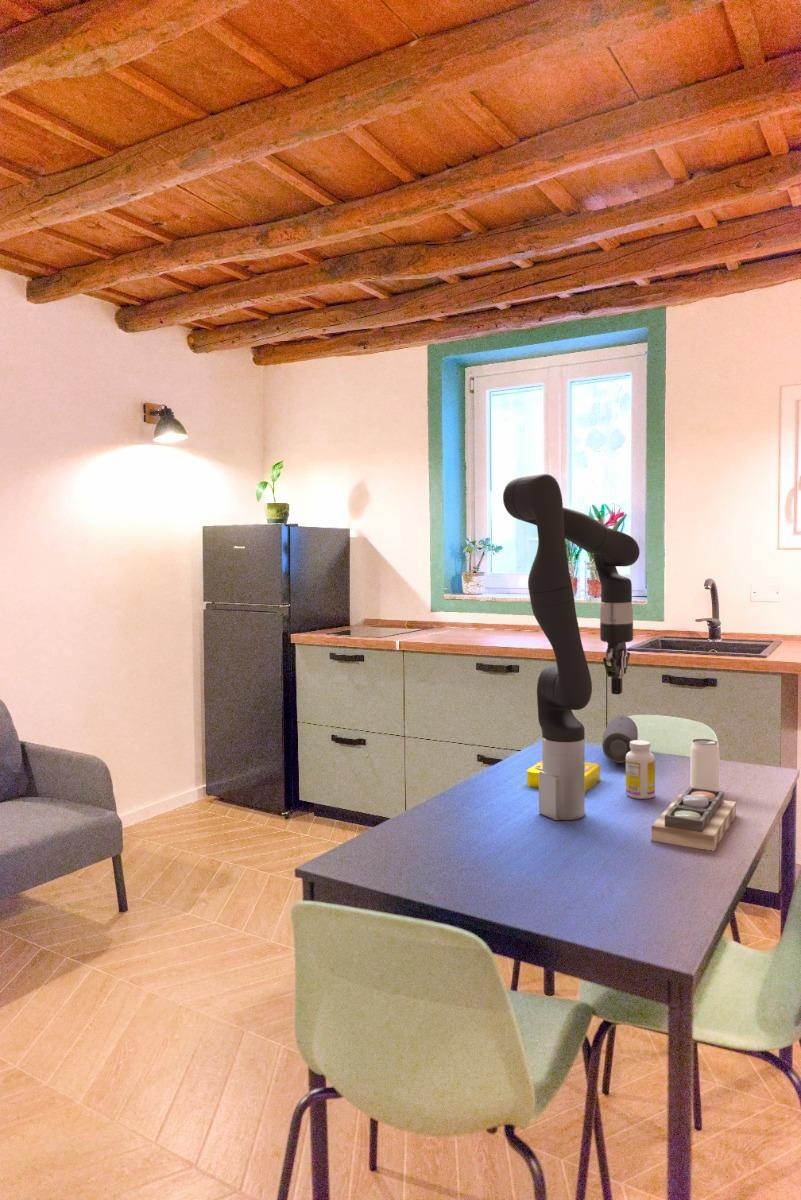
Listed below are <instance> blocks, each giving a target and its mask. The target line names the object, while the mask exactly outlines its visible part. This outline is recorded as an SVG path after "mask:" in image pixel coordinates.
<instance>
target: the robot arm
mask: <svg viewBox="0 0 801 1200" xmlns="http://www.w3.org/2000/svg"><path fill="white" fill-rule="evenodd" d="M562 495H563V494H562V492H561V488H560V484H559V482H558V481H557V479H556V478H555V477H554V476H553V475H552V474H548V473H542V474H535V475H527V476H520V477H517V478H514V479H512V480H510V481H509V482H508V483H507V484H506V486H505V487H504V490H503V495H502V502H503V505H504V508H505V509H506V511H507V513H508V514H509V515H510V516H511V517H512V518H514V519H516V520H520V521H522V522H525V523H527V524H531V525H534V526H536V529H537V530H536V531H537V538H538V539H537V540H538V541H537V542H538V543H537V548H536V549H537V550H536V552H535V553H536V554H535V557H534V560H533V563H532V565H531V568H530V571H529V575H528V580H527V588H528V594H529V595H528V596H529V599H530V600H529V601H530V605H531V610H532V613H533V616H534V619H535V620H536V622H537V624H538V625H539V627H540V629H541V630H542V632H543V633H544V635H545V637H546V638H547V640H548V642H549V643H550V645H551V648H552V650H553V653H554V657H555V662H556V663H553V664H548V665H547V666H545V667H543V669H542V670H541V671H540V673H539V676H538V679H537V684H536V696H537V697H536V698H537V700H536V701H537V702H536V703H537V718H538V720H537V721H538V724H539V726H540V729H541V737H542V738H541V740H542V741H541V745H542V747H541V748H542V749H541V753H542V754H541V755H542V756H541V759H542V760H541V761H542V771H539V788H538V813H539V814H541V815H543V816H544V817H548V818H549V819H551V820H555V821H560V820H563V821H570V820H571V821H572V820H578V819H581V818H583V817H584V816H585V813H586V812H585V811H586V810H585V807H586V806H585V803H586V801H585V799H586V798H585V797H586V796H585V795H586V794H585V793H586V792H585V762H586V761H585V759H586V758H585V754H586V753H585V751H586V750H585V747H586V746H585V742H586V741H585V740H586V739H585V735H586V734H585V726H584V725H583V724H582V722H580V720H578V719H577V717H576V716H575V714H574V713H573V711H580V710H582V709H584V708H585V707H586V706H587V705H588V704H589V702H590V701H591V697H592V693H593V692H592V691H593V683H592V676H591V673H590V669H589V666H588V665H589V664H588V662H587V658H586V654H585V651H584V647H583V646H584V645H583V642H582V638H581V637H582V636H581V633H580V627H579V621H578V617H577V612H576V611H577V610H576V604H575V603H576V602H575V596H574V589H573V583H572V578H571V574H570V569H569V567H570V566H569V561H568V553H567V546H566V540H567V541H569V542H571V543H573V544H574V545H575V546H577V547H579V548H581V549H582V550H584V551H585V552H588V553H589V554H592V555H593V561H594V564H595V568H596V572H597V576H598V579H599V582H600V601H601V602H600V611H599V612H600V613H599V615H600V616H599V621H600V623H599V627H600V628H599V629H600V630H599V633H600V634H599V636H600V637H599V639H600V641H601V642H604V643H607V648H606V651H605V655H606V656H605V657H603V659H602V661H603V666H604V668H605V672H606V675H607V677H609V679H611V681H610V682H611V684H610V685H611V689H610V690H611V694H612V695H621V694H622V693H623V678H624V677H625V675H626V673H627V669H628V665H629V659H630V655H631V653H630V651H628V649H627V644H626V643H629V642H633V640H634V609H633V602H632V600H633V599H632V598H633V591H632V590H633V586H632V580H631V579H630V578H629V577H626V576H625V575H624V576H623V575H621V574H619V572H618V569H617V567H630V566H632V565H634V564H635V563H637V561H638V559H639V558H640V555H641V553H640V551H641V550H640V547H639V544H638V542H637V541H636V539H635V538H633V536H631V535H629V534H627V533H624V532H622V531H619V530H618V529H617V530H616V529H614V528H611V527H607V526H605V525H604V524H602V523H601V522H600V521H598V520H597V519H595V518H594V517H592V516H590V515H588V514H586V513H583V512H580V511H577V510H575V509H571V508H567V507H564V506H563V505H564V503H563V496H562Z"/></svg>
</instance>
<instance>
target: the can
mask: <svg viewBox="0 0 801 1200" xmlns="http://www.w3.org/2000/svg"><path fill="white" fill-rule="evenodd" d="M689 771H690V778H689V780H690V781H689V782H690V786H689V787H694V788H701V789H708V790H716V791H720V748H719V745H718V741H717V740H715V739H712V738H711V739H709V738H694V739H692V744H691V745H690V770H689Z"/></svg>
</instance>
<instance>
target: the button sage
mask: <svg viewBox="0 0 801 1200" xmlns="http://www.w3.org/2000/svg"><path fill="white" fill-rule="evenodd" d="M674 816H677V817H684V818H690V819H697V820H700V817H701V816H700V814H698V813H696V812H692V811H677V812H675V813H674Z"/></svg>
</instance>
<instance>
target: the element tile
mask: <svg viewBox="0 0 801 1200" xmlns="http://www.w3.org/2000/svg"><path fill="white" fill-rule="evenodd" d="M539 771H542V760H540V761H539V762H537V763H536V764H534V765H532V766H531V767H529V768H527V769H526V783H527V784H526V786H527V787H531V788H537V789H539ZM598 781H599V782H600V781H601V765H600V764H599V763H594V762H589V761H588V762H587V761H585V793H587V792H588V791H589V790H591V789H592V788H593V787H594V786H595V785H596V783H597V782H598ZM599 782H598V783H599ZM598 783H597V784H598ZM593 785H594V786H593ZM592 786H593V787H592ZM591 787H592V788H591ZM588 789H589V790H588ZM587 790H588V791H587Z"/></svg>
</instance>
